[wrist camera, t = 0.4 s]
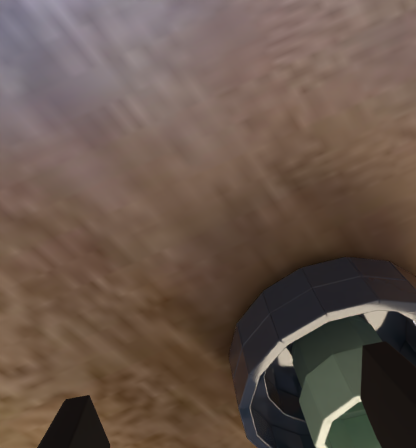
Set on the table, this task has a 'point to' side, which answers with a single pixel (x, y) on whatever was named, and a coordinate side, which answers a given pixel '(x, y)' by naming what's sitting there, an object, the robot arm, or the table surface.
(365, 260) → the dark blue round dish
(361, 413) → the small cup
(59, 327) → the table surface
